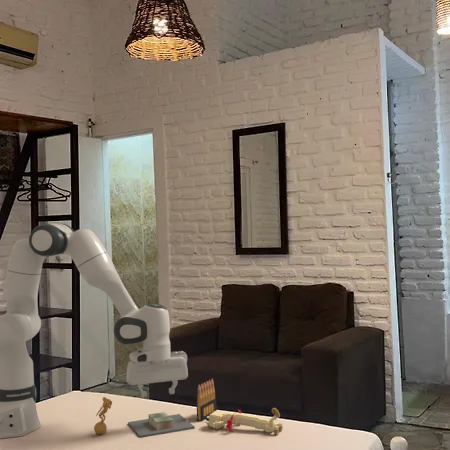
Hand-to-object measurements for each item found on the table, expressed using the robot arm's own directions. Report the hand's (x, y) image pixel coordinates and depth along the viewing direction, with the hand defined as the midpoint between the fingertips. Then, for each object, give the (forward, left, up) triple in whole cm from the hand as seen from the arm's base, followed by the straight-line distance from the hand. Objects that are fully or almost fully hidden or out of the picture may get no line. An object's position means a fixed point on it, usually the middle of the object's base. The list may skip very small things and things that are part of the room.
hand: (157, 395), depth 201 cm
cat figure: (+22, -17, -11) cm, 30 cm away
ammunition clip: (+17, +2, -10) cm, 20 cm away
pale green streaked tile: (0, -6, -8) cm, 10 cm away
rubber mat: (0, 0, -10) cm, 10 cm away
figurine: (-18, +1, -10) cm, 21 cm away
